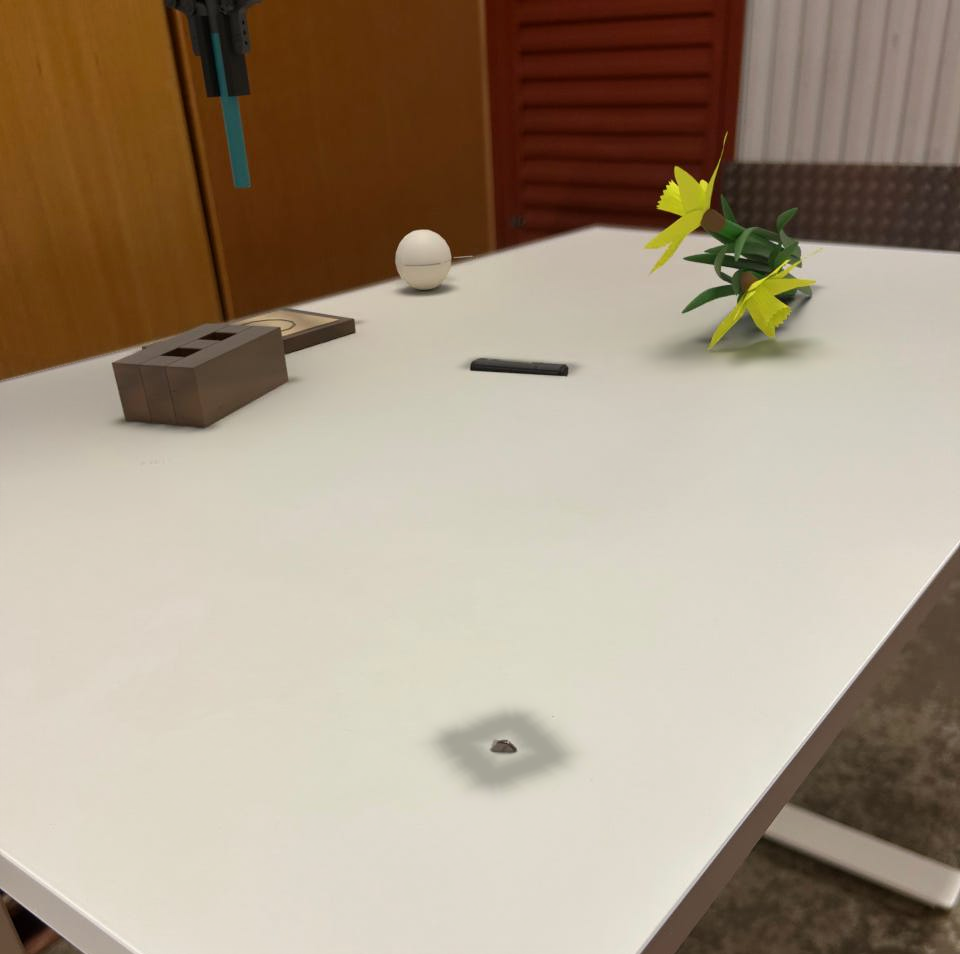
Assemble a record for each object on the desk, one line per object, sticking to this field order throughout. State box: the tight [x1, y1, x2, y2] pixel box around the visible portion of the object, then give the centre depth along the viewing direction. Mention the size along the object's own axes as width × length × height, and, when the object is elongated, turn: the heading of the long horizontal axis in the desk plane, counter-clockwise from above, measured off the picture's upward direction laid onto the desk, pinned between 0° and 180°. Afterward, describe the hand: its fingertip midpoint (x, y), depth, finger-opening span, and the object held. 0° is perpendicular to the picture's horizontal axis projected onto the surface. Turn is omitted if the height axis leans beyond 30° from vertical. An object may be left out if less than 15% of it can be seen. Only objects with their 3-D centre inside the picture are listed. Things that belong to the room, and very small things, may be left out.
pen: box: [205, 0, 252, 189], centre depth 94 cm, size 2×2×16 cm
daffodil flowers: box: [642, 130, 823, 351], centre depth 102 cm, size 17×15×35 cm
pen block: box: [111, 322, 290, 429], centre depth 88 cm, size 8×14×6 cm, turn 159°
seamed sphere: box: [394, 229, 474, 291], centre depth 128 cm, size 10×7×7 cm
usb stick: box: [469, 357, 569, 377], centre depth 93 cm, size 10×3×2 cm, turn 65°
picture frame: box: [141, 307, 357, 355], centre depth 109 cm, size 20×12×2 cm, turn 141°
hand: (228, 95), depth 94 cm, fingers closed on pen, 2 cm apart
